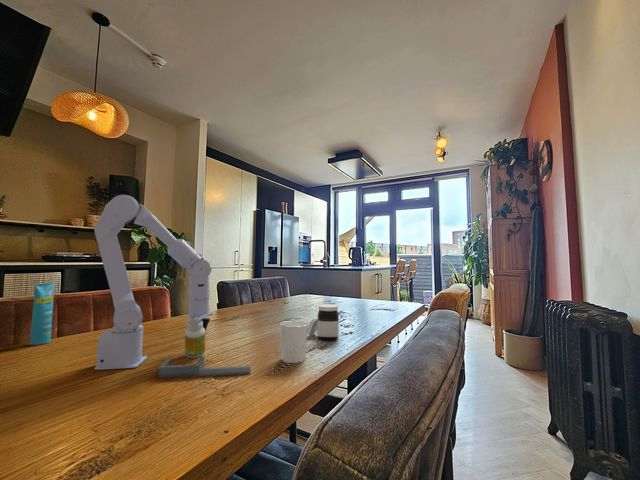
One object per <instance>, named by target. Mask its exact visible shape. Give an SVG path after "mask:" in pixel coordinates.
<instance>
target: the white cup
mask: <svg viewBox="0 0 640 480" xmlns="http://www.w3.org/2000/svg"><path fill="white" fill-rule="evenodd" d="M308 326H309V324H308V322H306V321H302V320H285V321H282V322H280V323H279V332H280V333H279V334H280V335H279V336H280V337H279V339H280V340H279V341H280V342H279V343H280V360H281V361H282V362H284V363H287V364H298V363H302V362H304V361H306V351H307V340H308V333H307V330H308Z"/></svg>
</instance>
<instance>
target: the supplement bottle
mask: <svg viewBox="0 0 640 480" xmlns="http://www.w3.org/2000/svg"><path fill="white" fill-rule="evenodd" d="M205 352H206V333H205V328H204V327H203V321H202V320H199V325H198V326H191V320H189V321H188V322H187V328H186V329H185V331H184V355H185V357H187V358H190V359H196V358H200V357H203V355H204V354H205Z"/></svg>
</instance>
